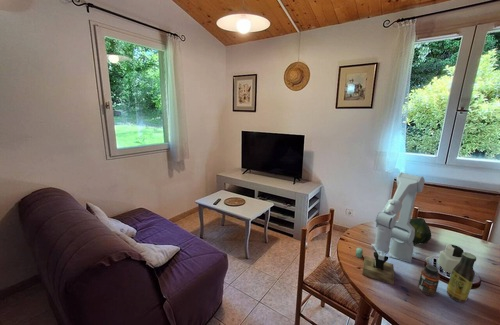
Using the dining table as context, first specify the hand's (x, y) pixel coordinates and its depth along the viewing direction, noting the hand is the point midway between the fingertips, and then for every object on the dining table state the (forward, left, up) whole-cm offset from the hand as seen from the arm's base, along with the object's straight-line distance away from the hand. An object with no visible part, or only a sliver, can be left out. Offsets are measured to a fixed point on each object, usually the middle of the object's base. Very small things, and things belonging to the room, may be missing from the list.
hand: (378, 264), depth 103 cm
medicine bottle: (-30, -20, -4) cm, 36 cm away
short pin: (+8, -9, -4) cm, 13 cm away
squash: (-18, -41, -4) cm, 45 cm away
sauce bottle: (-28, 0, -4) cm, 28 cm away
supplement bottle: (-18, +2, -4) cm, 19 cm away
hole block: (0, 0, -4) cm, 4 cm away
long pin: (0, 0, -4) cm, 4 cm away
